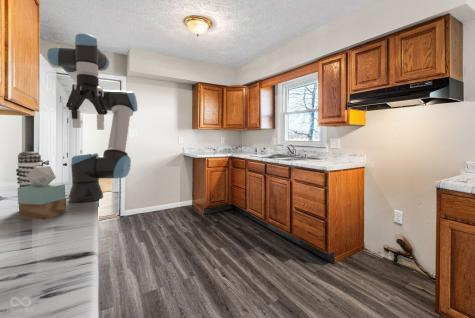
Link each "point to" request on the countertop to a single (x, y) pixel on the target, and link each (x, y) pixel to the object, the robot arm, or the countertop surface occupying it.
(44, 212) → the tower base
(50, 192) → the tower top
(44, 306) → the countertop surface
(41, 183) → the die
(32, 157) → the decorative candle
